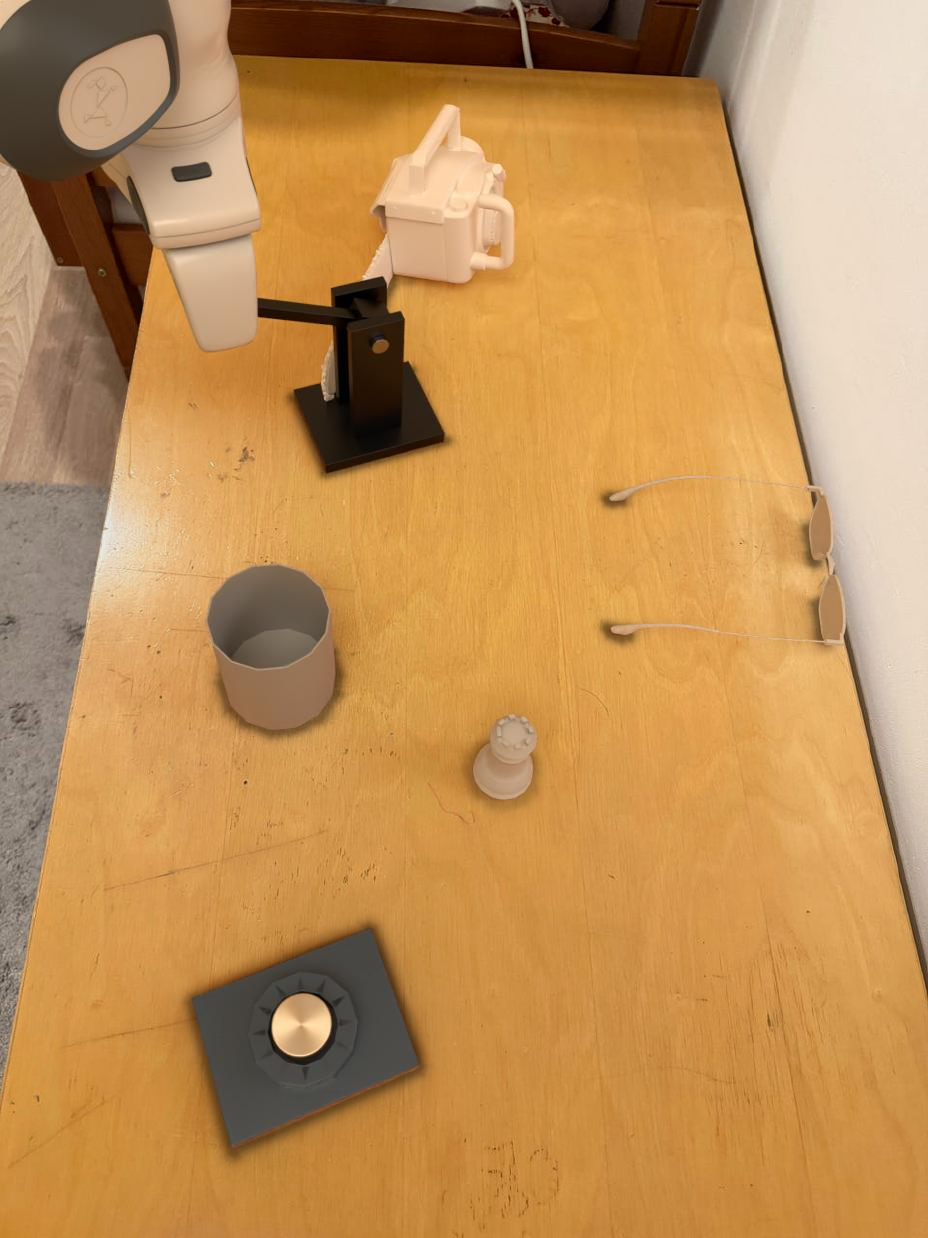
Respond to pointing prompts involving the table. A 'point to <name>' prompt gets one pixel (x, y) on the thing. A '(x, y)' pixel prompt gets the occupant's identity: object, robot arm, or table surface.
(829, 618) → the eyeglasses
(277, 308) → the press lever
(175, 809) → the table surface
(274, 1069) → the button block
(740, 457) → the table surface
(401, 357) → the press bracket
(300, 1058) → the gold dial knob
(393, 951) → the table surface
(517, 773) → the rook chess piece
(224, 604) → the cup
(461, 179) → the chainsaw
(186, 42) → the robot arm
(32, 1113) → the table surface
